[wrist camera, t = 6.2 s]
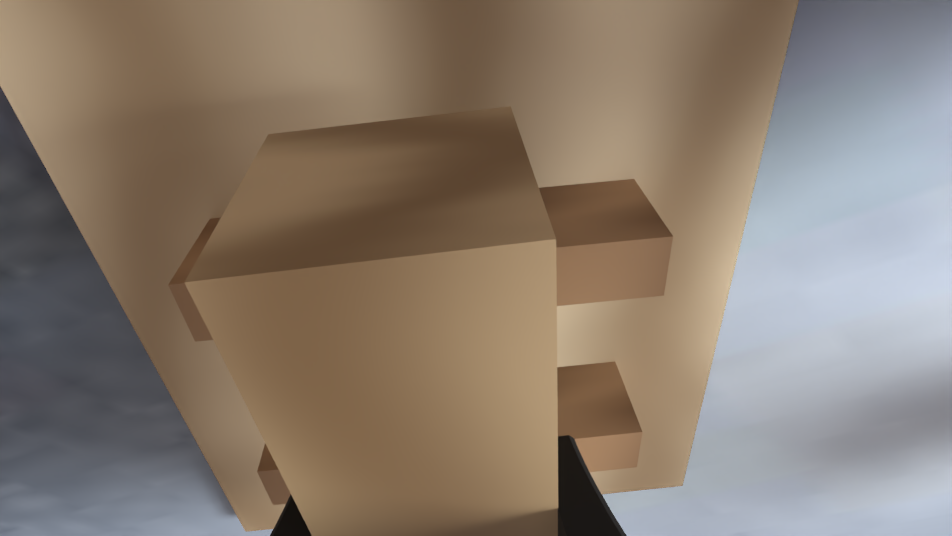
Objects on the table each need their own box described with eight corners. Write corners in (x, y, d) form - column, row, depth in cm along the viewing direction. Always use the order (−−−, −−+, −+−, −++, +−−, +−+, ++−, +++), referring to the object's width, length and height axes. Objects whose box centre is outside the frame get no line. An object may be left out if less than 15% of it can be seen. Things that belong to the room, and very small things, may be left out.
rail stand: (798, -96, 11) (923, -87, 8) (674, 467, 21) (711, 555, 19) (-29, -27, 11) (-188, 8, 8) (251, 511, 21) (224, 608, 18)
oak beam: (510, 105, 9) (556, 238, 6) (533, 508, 16) (559, 667, 13) (268, 134, 9) (183, 282, 6) (395, 524, 16) (388, 688, 13)
